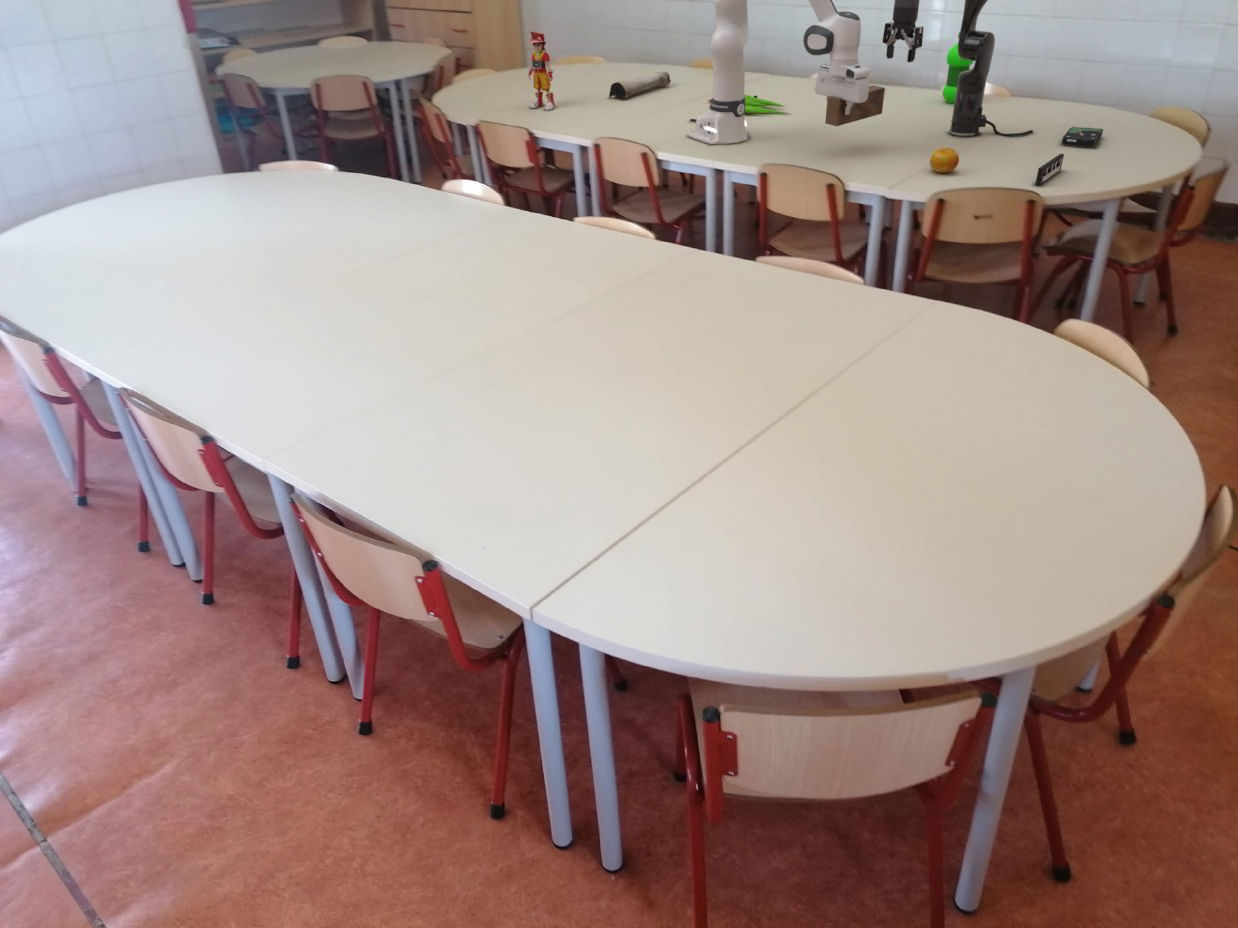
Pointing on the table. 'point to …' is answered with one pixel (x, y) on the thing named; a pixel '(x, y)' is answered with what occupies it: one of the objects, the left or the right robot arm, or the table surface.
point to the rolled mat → (638, 84)
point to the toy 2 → (754, 105)
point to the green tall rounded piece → (954, 73)
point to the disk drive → (1082, 136)
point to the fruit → (944, 160)
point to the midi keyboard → (1049, 169)
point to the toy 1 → (541, 71)
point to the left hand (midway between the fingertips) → (838, 112)
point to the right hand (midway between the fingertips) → (899, 60)
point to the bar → (855, 108)
